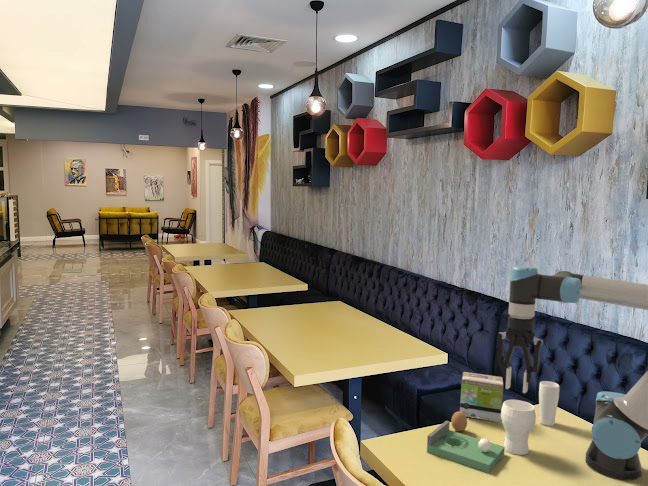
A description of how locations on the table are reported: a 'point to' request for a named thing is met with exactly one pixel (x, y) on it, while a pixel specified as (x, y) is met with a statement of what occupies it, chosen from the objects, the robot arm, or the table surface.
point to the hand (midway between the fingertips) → (516, 389)
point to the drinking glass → (548, 402)
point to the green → (462, 448)
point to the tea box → (481, 396)
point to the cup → (517, 425)
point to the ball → (484, 445)
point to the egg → (459, 421)
